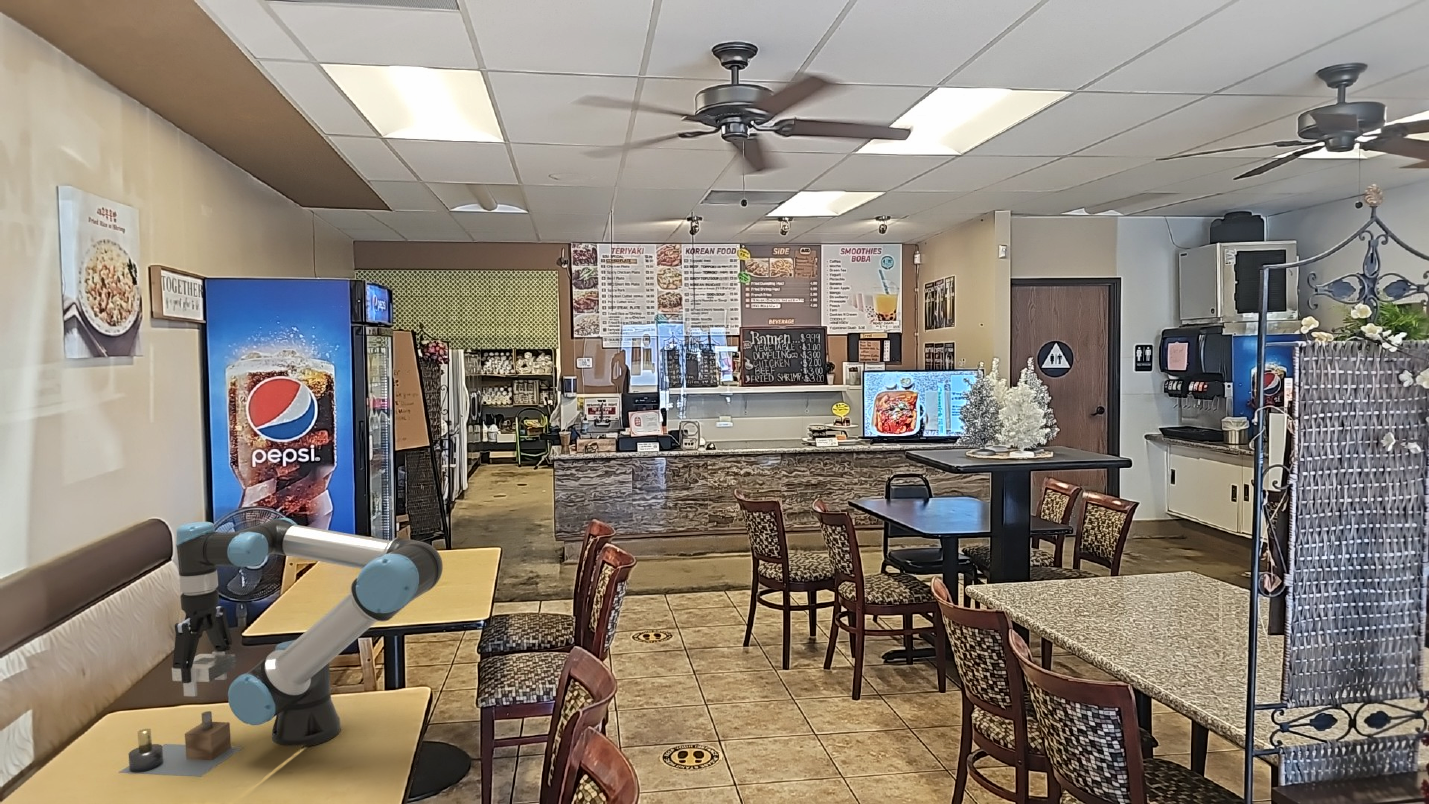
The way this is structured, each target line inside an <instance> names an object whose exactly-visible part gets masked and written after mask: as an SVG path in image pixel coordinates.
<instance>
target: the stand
mask: <svg viewBox="0 0 1429 804" xmlns="http://www.w3.org/2000/svg"><path fill="white" fill-rule="evenodd" d="M212 714H213V713H212V711H209V710H208V711H204V712H202V713H201V723H200V724H198V725H196V726H195V727H192V729H190V730H188V731H187V732H185V733H184V743H185V744H184V745H186V759H196V760H213V759H215V758H216V757H218V756H219V755H221V754H222V753H224V752H225V751H226V750H228V749H229V748H231V747H232V742H231V739H232V737H231V726H230V724H231V723H230V722H226V721H224V722H223V721H213V716H212Z"/></svg>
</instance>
